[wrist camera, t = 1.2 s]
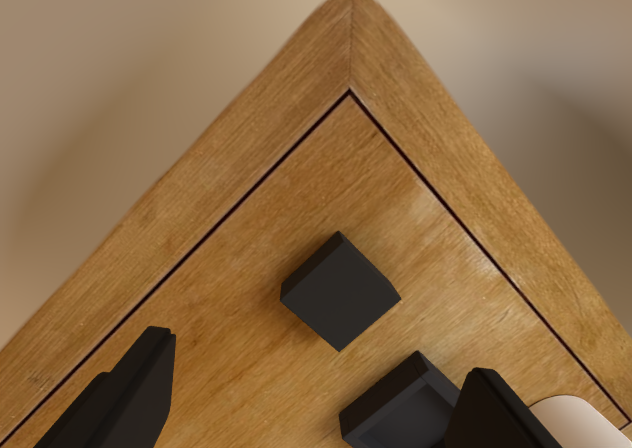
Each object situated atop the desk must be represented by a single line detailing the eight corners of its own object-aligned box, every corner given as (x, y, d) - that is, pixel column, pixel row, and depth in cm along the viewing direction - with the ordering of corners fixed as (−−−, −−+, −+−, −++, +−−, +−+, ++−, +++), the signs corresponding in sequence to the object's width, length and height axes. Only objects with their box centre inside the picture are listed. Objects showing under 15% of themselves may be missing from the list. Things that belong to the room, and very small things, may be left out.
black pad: (338, 230, 22) (343, 241, 19) (390, 282, 23) (402, 299, 20) (281, 283, 22) (279, 300, 20) (334, 330, 24) (339, 352, 21)
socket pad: (417, 349, 25) (429, 369, 22) (480, 408, 27) (496, 432, 25) (338, 413, 26) (341, 439, 24) (403, 465, 28) (412, 493, 26)
